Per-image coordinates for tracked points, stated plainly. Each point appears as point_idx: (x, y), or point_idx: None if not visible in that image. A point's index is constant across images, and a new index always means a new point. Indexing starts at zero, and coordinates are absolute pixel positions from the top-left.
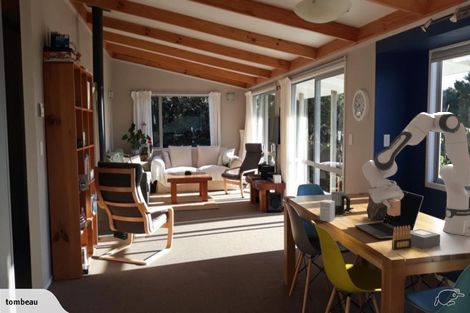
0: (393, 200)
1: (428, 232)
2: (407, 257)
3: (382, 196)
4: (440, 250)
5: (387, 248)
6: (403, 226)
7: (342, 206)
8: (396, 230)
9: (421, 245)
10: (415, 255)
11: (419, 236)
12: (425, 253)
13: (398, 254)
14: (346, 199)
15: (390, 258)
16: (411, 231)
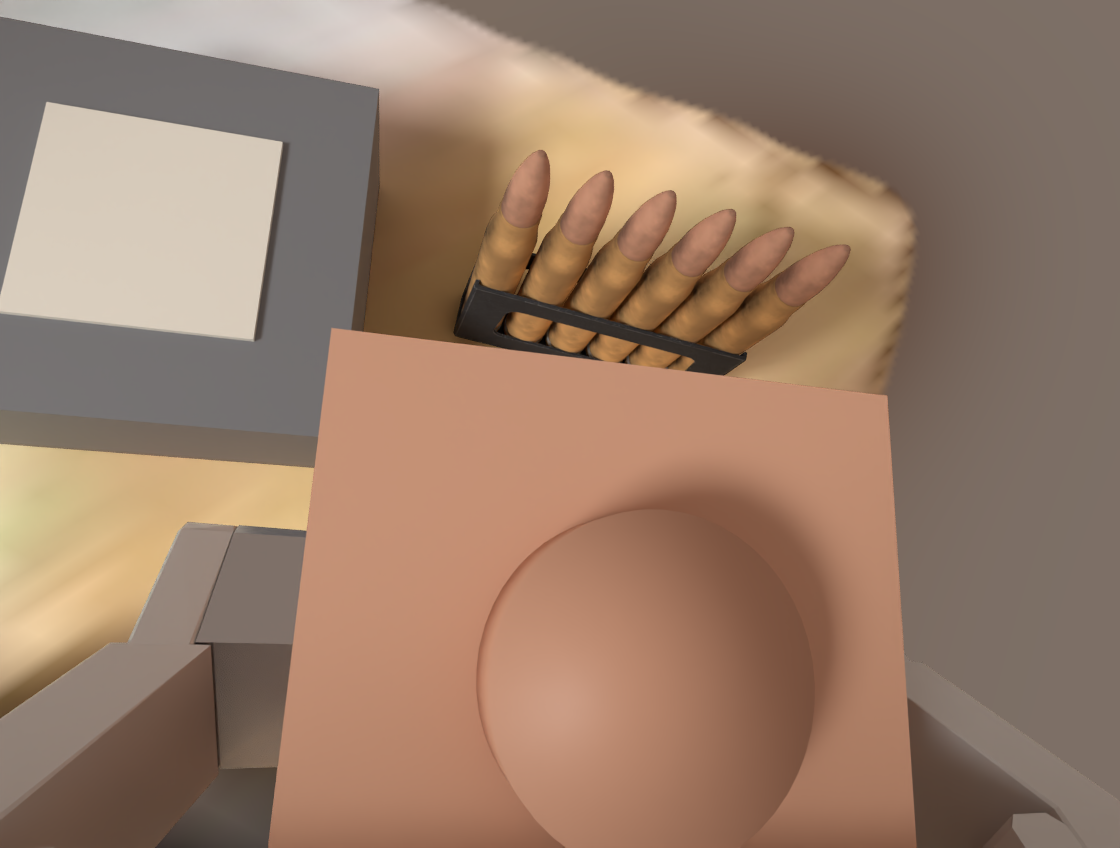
0: (750, 587)
1: (37, 164)
2: (747, 156)
3: None
4: (247, 51)
5: None
6: (673, 196)
7: None
8: (762, 280)
9: (376, 194)
10: (636, 139)
11: (371, 162)
12: (494, 107)
13: None
14: None
15: (899, 234)
16: (220, 382)
